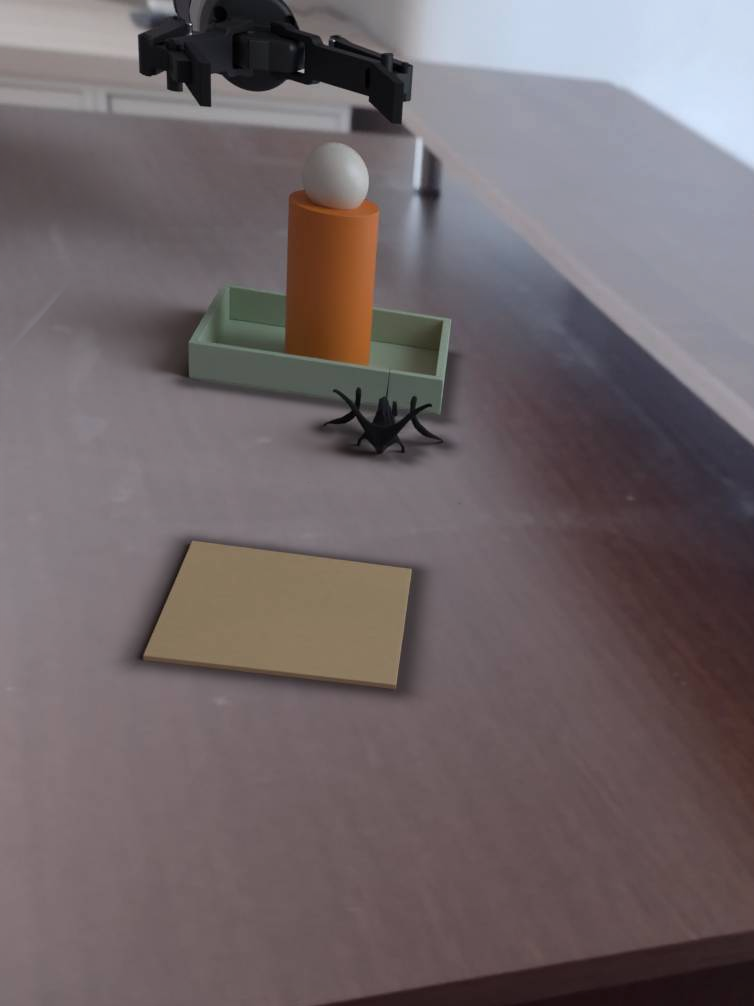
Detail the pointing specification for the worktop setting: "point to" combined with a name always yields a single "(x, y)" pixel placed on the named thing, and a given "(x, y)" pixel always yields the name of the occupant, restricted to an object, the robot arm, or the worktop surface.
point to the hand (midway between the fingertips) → (304, 94)
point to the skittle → (331, 258)
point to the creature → (383, 421)
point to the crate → (263, 363)
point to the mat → (284, 616)
